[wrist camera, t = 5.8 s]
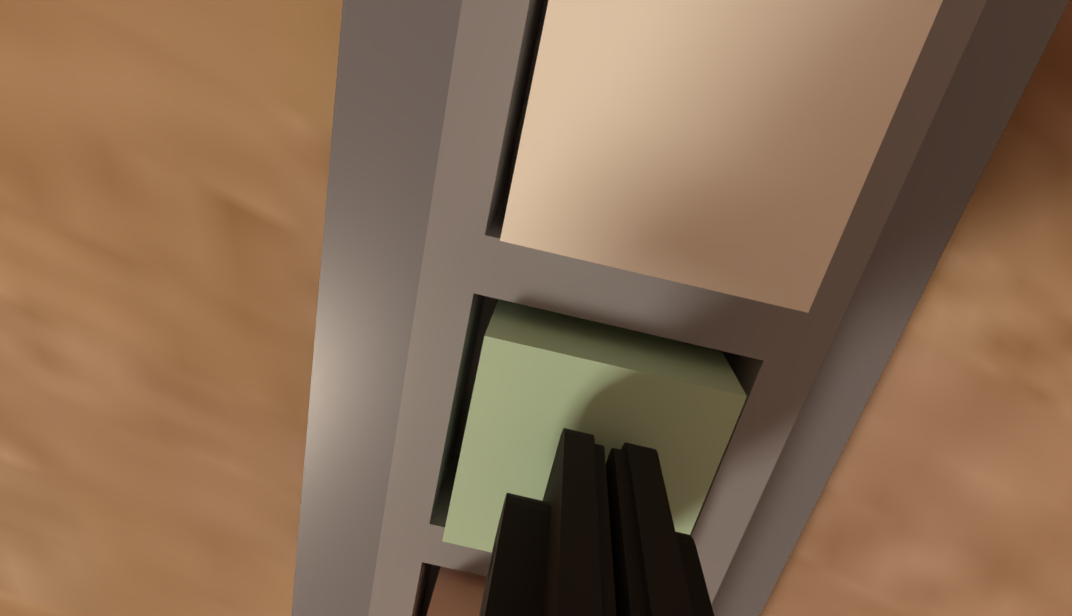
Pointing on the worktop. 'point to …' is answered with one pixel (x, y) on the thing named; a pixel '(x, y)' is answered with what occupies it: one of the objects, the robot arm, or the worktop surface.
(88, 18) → the worktop surface
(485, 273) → the console
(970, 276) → the worktop surface
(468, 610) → the terracotta key
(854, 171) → the cream key
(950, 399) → the worktop surface
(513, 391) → the sage key
